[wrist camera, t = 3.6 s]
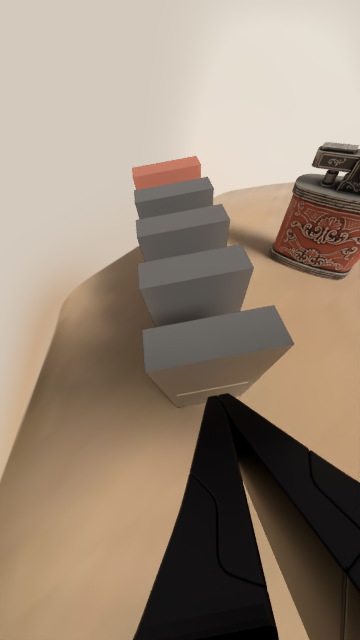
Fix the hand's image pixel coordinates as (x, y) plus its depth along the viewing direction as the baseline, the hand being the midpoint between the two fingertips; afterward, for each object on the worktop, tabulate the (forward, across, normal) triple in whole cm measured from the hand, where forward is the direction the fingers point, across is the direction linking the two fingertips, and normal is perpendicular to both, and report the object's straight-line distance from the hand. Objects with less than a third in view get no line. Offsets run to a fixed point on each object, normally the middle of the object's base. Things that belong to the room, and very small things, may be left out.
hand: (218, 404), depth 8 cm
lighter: (+15, -14, -4) cm, 21 cm away
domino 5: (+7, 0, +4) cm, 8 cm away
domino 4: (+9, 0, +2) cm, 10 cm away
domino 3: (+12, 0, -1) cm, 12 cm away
